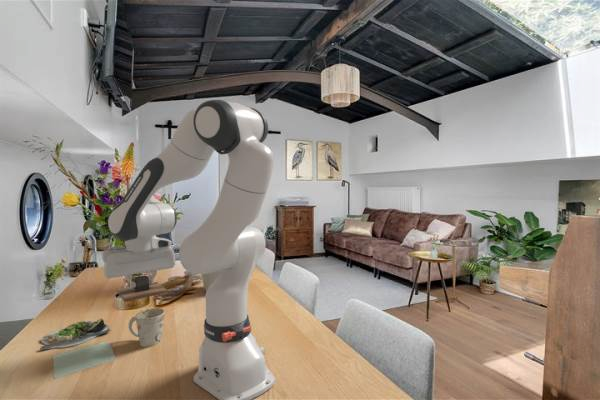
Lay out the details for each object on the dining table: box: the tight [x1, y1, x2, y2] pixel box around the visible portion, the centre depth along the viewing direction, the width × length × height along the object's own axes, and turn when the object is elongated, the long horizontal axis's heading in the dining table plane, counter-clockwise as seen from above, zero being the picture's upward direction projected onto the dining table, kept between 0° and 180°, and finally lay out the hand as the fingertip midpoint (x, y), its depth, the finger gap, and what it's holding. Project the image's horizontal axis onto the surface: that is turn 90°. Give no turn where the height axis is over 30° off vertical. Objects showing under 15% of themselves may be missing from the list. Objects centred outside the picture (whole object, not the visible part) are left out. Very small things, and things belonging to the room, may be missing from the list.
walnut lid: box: [116, 274, 169, 303], centre depth 98 cm, size 12×12×5 cm
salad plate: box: [39, 318, 112, 351], centre depth 102 cm, size 19×18×5 cm
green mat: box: [52, 340, 117, 379], centre depth 90 cm, size 14×14×1 cm
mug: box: [128, 307, 165, 348], centre depth 99 cm, size 8×13×10 cm, turn 78°
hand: (141, 286), depth 98 cm, fingers closed on walnut lid, 3 cm apart
